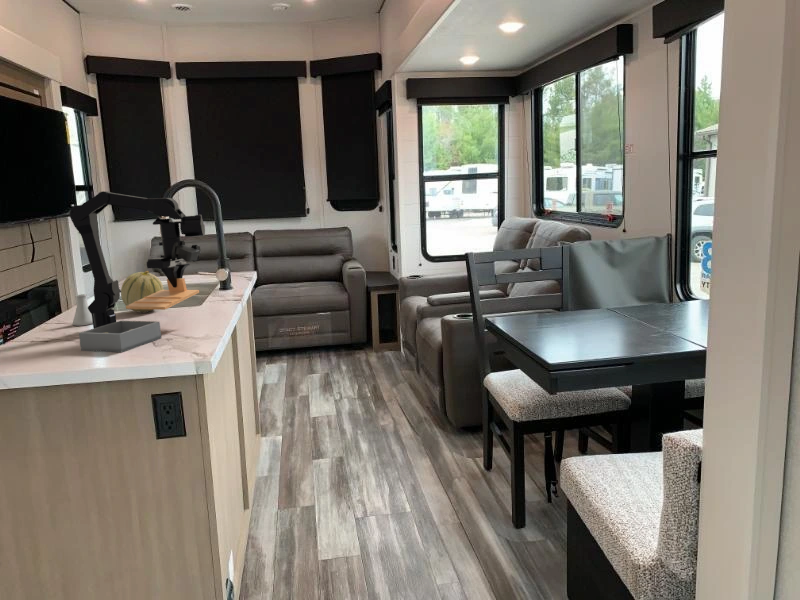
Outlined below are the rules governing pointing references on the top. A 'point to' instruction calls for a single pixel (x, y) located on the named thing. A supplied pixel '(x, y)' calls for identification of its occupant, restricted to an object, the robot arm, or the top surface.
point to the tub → (120, 336)
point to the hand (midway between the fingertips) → (176, 286)
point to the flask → (82, 312)
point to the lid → (164, 297)
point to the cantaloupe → (139, 288)
